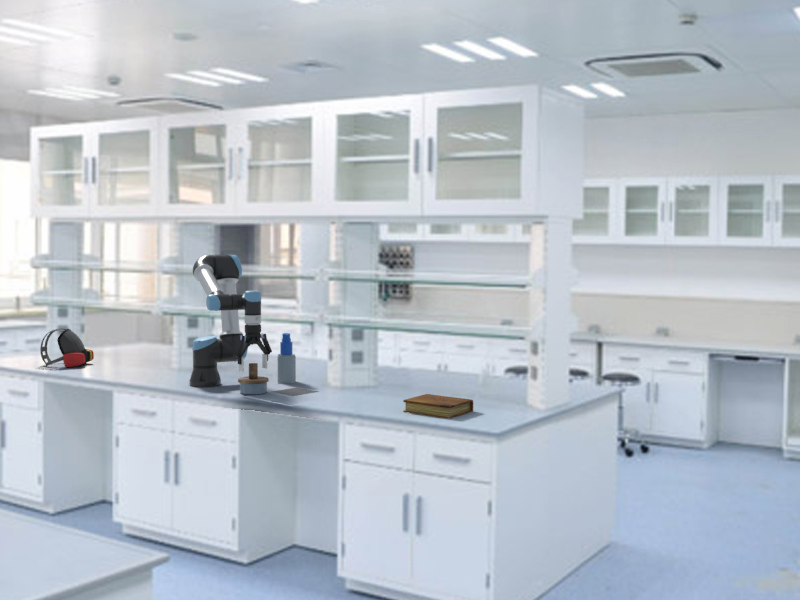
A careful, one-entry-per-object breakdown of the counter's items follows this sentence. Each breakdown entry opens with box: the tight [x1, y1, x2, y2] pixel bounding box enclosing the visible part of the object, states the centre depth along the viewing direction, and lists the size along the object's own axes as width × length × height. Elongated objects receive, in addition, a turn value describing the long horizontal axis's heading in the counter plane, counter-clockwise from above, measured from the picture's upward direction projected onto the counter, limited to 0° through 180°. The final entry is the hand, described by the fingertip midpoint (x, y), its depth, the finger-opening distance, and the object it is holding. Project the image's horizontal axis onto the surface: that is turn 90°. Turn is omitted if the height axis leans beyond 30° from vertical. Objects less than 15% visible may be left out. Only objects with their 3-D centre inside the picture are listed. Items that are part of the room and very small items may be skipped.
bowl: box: [239, 382, 268, 397], centre depth 422 cm, size 12×12×6 cm
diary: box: [402, 393, 474, 420], centre depth 383 cm, size 23×19×6 cm
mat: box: [271, 387, 320, 397], centre depth 425 cm, size 16×16×1 cm
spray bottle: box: [277, 332, 297, 385], centre depth 451 cm, size 9×9×25 cm
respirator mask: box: [39, 328, 95, 368], centre depth 508 cm, size 22×24×25 cm
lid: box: [237, 362, 270, 384], centre depth 421 cm, size 14×14×8 cm
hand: (253, 369), depth 421 cm, fingers open, 13 cm apart
